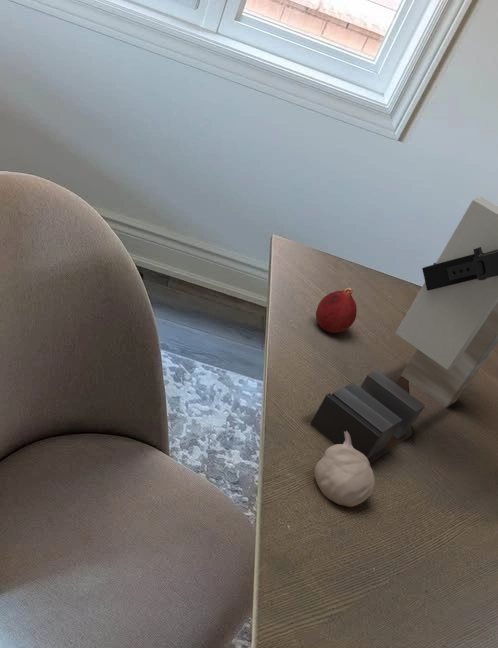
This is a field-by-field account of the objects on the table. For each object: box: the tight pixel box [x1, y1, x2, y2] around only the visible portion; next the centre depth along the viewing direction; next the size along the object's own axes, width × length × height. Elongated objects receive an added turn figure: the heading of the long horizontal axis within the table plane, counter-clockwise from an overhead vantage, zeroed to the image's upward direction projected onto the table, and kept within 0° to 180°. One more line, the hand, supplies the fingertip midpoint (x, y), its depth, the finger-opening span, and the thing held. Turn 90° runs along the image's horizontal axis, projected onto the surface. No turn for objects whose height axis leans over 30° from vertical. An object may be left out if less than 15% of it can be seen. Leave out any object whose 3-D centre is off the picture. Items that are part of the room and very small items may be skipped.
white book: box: [394, 196, 498, 370], centre depth 87 cm, size 2×8×18 cm, turn 43°
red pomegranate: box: [315, 287, 358, 334], centre depth 113 cm, size 6×6×8 cm
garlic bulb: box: [313, 431, 376, 508], centre depth 87 cm, size 7×6×8 cm
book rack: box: [307, 302, 498, 464], centre depth 97 cm, size 26×9×19 cm, turn 133°
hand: (432, 276), depth 90 cm, fingers closed on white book, 2 cm apart
